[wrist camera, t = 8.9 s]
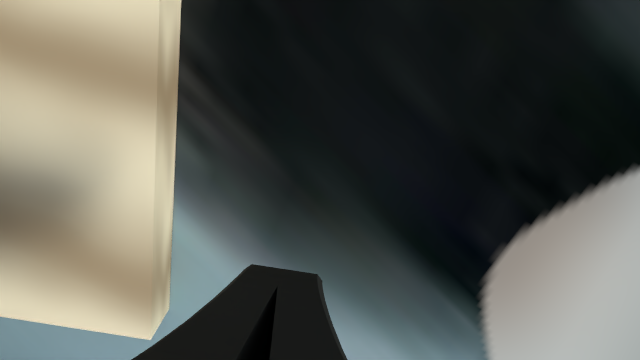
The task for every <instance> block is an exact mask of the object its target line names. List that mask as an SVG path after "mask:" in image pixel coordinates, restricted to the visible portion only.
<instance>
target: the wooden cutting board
mask: <svg viewBox="0 0 640 360" xmlns="http://www.w3.org/2000/svg"><path fill="white" fill-rule="evenodd" d="M180 18H181V0H0V316H1V317H7V318H13V319H20V320H26V321H32V322H39V323H45V324H52V325H58V326H64V327H71V328H77V329H83V330H90V331H96V332H103V333H109V334H115V335H122V336H128V337H134V338H141V339H147V340H151V339H152V337H153V335H154V333H155V332H156V330H157V328H158V327H159V325H160V323H161V322H162V320H163V318H164V316H165V315H166V313H167V311H168V310H169V298H170V273H171V247H172V222H173V196H174V171H175V145H176V120H177V95H178V69H179V44H180Z"/></svg>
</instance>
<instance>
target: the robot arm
mask: <svg viewBox="0 0 640 360" xmlns="http://www.w3.org/2000/svg"><path fill="white" fill-rule="evenodd" d="M132 360H347V358H346V356H345V354H344V352H343V349H342V347H341V344H340V342H339V339H338V337H337V334H336V332H335V329H334V327H333V324H332V321H331V318H330V315H329V312H328V309H327V305H326V302H325V298H324V293H323V287H322V280H321V279H320V277H319V276H318V275H317V274H312V273H305V272H299V271H292V270H286V269H279V268H273V267H266V266H260V265H253V264H252V265H250V266H249V267H247V268H246V269H244V270H243V271H242V272H241V273H240V274H239V275H238V276H237V277H236V278H235V279H234V280H233V281H232V282H231V283H230V284H229V285H228V286H227V287H226V288H225V289H223V290H222V291H221V292H220V293H219V294H218V295H217V296H216V297H214V298H213V299H212V300H211V301H210V302H209V303H207V304H206V305H205V306H204V307H203V308H201V309H200V310H199V311H198V312H197V313H195V314H194V315H193V316H192V317H191V318H189V319H188V320H187V321H185V322H184V323H183V324H182V325H180V326H179V327H177V328H176V329H175V330H173V331H172V332H171V333H169V334H168V335H167V336H165V337H164V338H162V339H161V340H160V341H158V342H157V343H156V344H154V345H153V346H151V347H150V348H148V349H147V350H145V351H144V352H142V353H141V354H139V355H138V356H136V357H135V358H133V359H132Z"/></svg>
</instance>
